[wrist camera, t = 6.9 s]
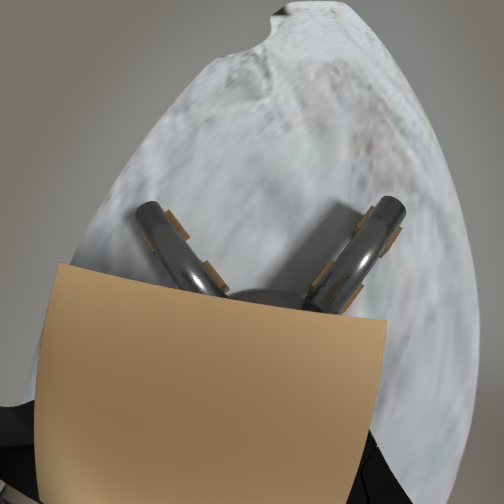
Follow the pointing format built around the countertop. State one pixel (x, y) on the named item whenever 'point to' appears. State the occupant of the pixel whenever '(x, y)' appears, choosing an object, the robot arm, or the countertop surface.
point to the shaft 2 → (357, 258)
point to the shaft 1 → (177, 252)
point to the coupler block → (197, 397)
